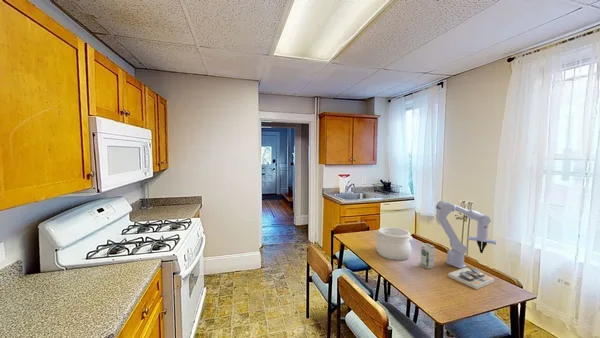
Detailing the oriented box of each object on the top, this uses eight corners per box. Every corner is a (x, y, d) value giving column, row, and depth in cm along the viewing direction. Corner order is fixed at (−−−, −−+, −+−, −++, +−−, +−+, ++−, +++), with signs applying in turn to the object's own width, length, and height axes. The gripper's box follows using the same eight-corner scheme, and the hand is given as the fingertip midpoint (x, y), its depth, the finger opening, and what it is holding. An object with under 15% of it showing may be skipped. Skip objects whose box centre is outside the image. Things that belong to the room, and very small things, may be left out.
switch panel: (448, 276, 152) (448, 273, 152) (465, 270, 160) (465, 267, 160) (476, 289, 138) (476, 285, 138) (494, 281, 146) (494, 278, 146)
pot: (406, 249, 196) (406, 227, 195) (417, 262, 172) (418, 237, 171) (372, 247, 199) (372, 226, 198) (378, 260, 174) (379, 236, 173)
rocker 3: (470, 269, 153) (470, 268, 153) (473, 268, 155) (474, 267, 154) (480, 276, 148) (480, 275, 148) (483, 275, 150) (484, 274, 149)
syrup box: (420, 265, 168) (420, 243, 167) (426, 263, 170) (427, 242, 169) (427, 268, 162) (428, 246, 162) (433, 267, 165) (434, 245, 164)
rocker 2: (464, 273, 150) (464, 271, 150) (468, 271, 152) (468, 270, 152) (475, 277, 145) (475, 275, 145) (479, 275, 147) (479, 274, 147)
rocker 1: (459, 273, 148) (459, 272, 148) (463, 272, 150) (463, 271, 149) (469, 280, 143) (469, 279, 143) (473, 278, 145) (473, 277, 144)
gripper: (468, 231, 166) (467, 251, 167) (496, 236, 157) (495, 257, 158) (469, 229, 172) (468, 248, 173) (496, 233, 163) (495, 253, 164)
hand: (481, 252), depth 166 cm, fingers closed
